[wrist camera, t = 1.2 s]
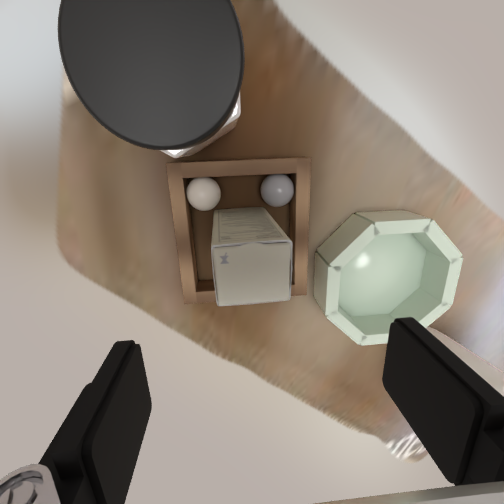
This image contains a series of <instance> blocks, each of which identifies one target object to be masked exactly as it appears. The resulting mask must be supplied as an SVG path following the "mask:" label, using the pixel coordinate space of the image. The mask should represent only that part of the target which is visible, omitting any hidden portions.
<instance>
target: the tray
mask: <svg viewBox="0 0 504 504" xmlns="http://www.w3.org/2000/svg"><path fill="white" fill-rule="evenodd" d="M166 169H167V177H168V184H169V192H170V199H171V207H172V214H173V222H174V229H175V236H176V244H177V251H178V259H179V266H180V274H181V281H182V289H183V296H184V304H193V303H206V302H216V294H215V287H214V280H203V281H198V275H197V266H196V257H195V248H194V239H193V230H192V221H191V212H190V203H189V201H188V199H187V195H186V191H187V187H188V185H187V178H196V177H218V176H240V175H263V174H285V173H290V179H291V180H292V182H293V185H294V194H293V197H292V199H291V200H290V240H291V241H292V243H293V247H292V264H293V272H292V281H291V296H299V295H306V293H307V263H308V233H309V203H310V173H311V158H310V157H288V158H263V159H239V160H214V161H190V162H170V163H166Z"/></svg>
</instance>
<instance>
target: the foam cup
mask: <svg viewBox="0 0 504 504" xmlns="http://www.w3.org/2000/svg"><path fill="white" fill-rule="evenodd" d="M426 329H427V330H428V331H429V332H430V333H432V334H433V335H434V336H435V337H436V338H437V339H438V340H440V341H441V342H442V343H443V344H444V345H445V346H446V347H448V348H449V349H450V350H451V351H452V352H453V353H454V354H456V355H457V356H458V357H459V358H460V359H461V360H462V361H464V362H465V363H466V364H467V365H468V366H469V367H470V368H472V369H473V370H474V371H475V372H476V373H477V374H478V375H480V376H481V377H482V378H483V379H484V380H485V381H486V382H488V383H489V384H490V385H491V386H492V387H493V388H494V389H496V390H497V391H498V392H499V393H500V394H501V395H502V396H504V372H503V371H501V370H500V369H498V368H497V367H495V366H493V365H492V364H490V363H489V362H487V361H485V360H484V359H482V358H481V357H479V356H478V355H476V354H474V353H473V352H471V351H470V350H468V349H467V348H465V347H463V346H462V345H460V344H459V343H457V342H456V341H454V340H452V339H451V338H449V337H448V336H446V335H445V334H443V333H441V332H439V331H438V330H436V329H434V328H431V327H426Z"/></svg>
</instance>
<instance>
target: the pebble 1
mask: <svg viewBox="0 0 504 504" xmlns="http://www.w3.org/2000/svg"><path fill="white" fill-rule="evenodd" d="M186 195H187V199H188V201H189V203H190V204H191V205H192V206H193V207H194V208H196V209H198V210H201V211H208V210H211V209H213V208H214V207H215V206H216V205H217V204H218V203H219V201H220V198H221V190H220V187H219V185H218V184H217V182H216V181H215V180H213V179H212V178H210V177H196V178H195V179H193V180H192V181H191V182H190V183H189V185H188V187H187V191H186Z"/></svg>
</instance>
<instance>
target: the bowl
mask: <svg viewBox="0 0 504 504" xmlns="http://www.w3.org/2000/svg"><path fill="white" fill-rule="evenodd" d="M317 251H318V252H315V268H314V292H313V296H314V298H315V300H316V301H317V303H318V305H319V306H320V308H321V310H322V311H323V313H324V315H325V316H326V318H327V319H329V320H330V321H331V322H332V323H333V324H335V325H336V326H337V327H338V328H339V329H340V330H342V331H343V332H344V333H345V334H346V335H348V336H349V337H350V338H351V339H352V340H353V341H355V342H356V343H357V344H358V345H359V344H360V345H361V346H362V345H373V344H384V343H388V336H389V329H390V324H391V323H392V322H394V320H395V319H396V318H404V317H413V318H414V319H416V320H417V321H418V322H419V323H420V324H421V325H422V326H424V327H425V328H426V327H428V326H429V325H430V324H431V323H432V322H434V321H435V320H436V319H437V318H438V317H440V316H441V315H442V314H443V313H444V312H446V311H447V310H448V309H449V308H451V307H450V306H449V305H452V304H453V300H454V295H455V291H456V287H457V283H458V278H459V274H460V270H461V265H462V261H463V257H461V256H463V255H462V254H461V252H460V251H459V250H458V249H457V248H456V246H455V245H454V244H453V243H452V242H451V240H450V239H449V238H448V237H447V236H446V234H445V233H444V232H443V231H442V230H441V228H440V227H439V226H438V225H437V224H436V222H435V221H434V220H432V219H430V218H427V217H424V216H421V215H418V214H415V213H412V212H409V211H406V210H392V211H374V212H356V213H355V214H352V215H351V216H350V217H349V218H348V219H347V220H346V221H345V222H344V223H343V224H342V225H341V226H340V227H339V228H338V229H337V230H336V231H335V232H334V233H333V234H332V235H331V236H330V237H329V238H328V239H327V240H326V241H325V242H324V243H323V244H322V245H321V246H320V247H319V248H318V249H317Z"/></svg>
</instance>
